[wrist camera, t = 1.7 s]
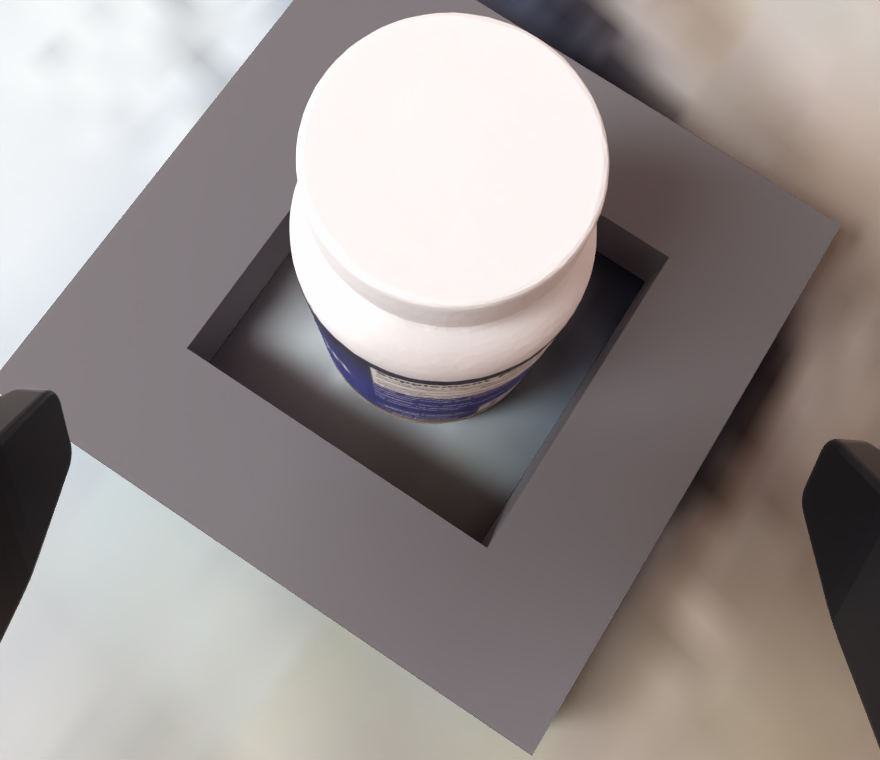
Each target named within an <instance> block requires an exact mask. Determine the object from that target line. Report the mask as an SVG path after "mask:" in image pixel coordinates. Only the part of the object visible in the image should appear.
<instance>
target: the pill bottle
mask: <svg viewBox="0 0 880 760" xmlns="http://www.w3.org/2000/svg"><path fill="white" fill-rule="evenodd" d="M609 164H610V162H609V150H608V143H607V137H606V132H605V128H604V125H603V121H602V117H601V115H600V113H599V110H598V108H597V105H596V103H595V101H594V99H593V97H592V95H591V94H590V92H589V90H588V88H587V87H586V85H585V84H584V82H583V81H582V79H581V78H580V77H579V76H578V74H577V73H576V72H575V71H574V69H573V68H572V67H571V66H570V65H569V63H568V62H567V61H566V60H565V59H564V58H563V57H562V56H561V55H560V54H559V53H557V52H556V51H555V50H554V49H552V48H551V47H550V46H548V45H547V44H546V43H544V42H543V41H541V40H540V39H538V38H537V37H535V36H533V35H532V34H530V33H528V32H526V31H524V30H522V29H520V28H518V27H516V26H514V25H511V24H508V23H505V22H502V21H499V20H496V19H493V18H490V17H485V16H478V15H472V14H465V13H454V12H451V13H434V14H426V15H420V16H415V17H410V18H406V19H403V20H399V21H396V22H394V23H391V24H389V25H386V26H384V27H381V28H379V29H378V30H376V31H374V32H372V33H371V34H369V35H367V36H365V37H364V38H362V39H361V40H359V41H358V42H356V43H355V44H354V45H352V46H351V47H350V48H348V49H347V50H346V51H345V52H344V53H343V54H342V55H341V56H340V57H339V58H338V59H337V60H336V61H335V62H334V63H333V64H332V65H331V66H330V67H329V69H328V70H327V71H326V73H325V74H324V75H323V77H322V78H321V80H320V81H319V83H318V84H317V85H316V87H315V89H314V91H313V93H312V95H311V97H310V99H309V101H308V103H307V106H306V108H305V111H304V114H303V117H302V121H301V124H300V128H299V132H298V138H297V146H296V173H297V180H298V181H297V184H296V187H295V190H294V194H293V199H292V204H291V211H290V245H291V252H292V258H293V263H294V267H295V271H296V274H297V278H298V281H299V284H300V287H301V290H302V292H303V294H304V297H305V299H306V301H307V303H308V305H309V308H310V310H311V312H312V314H313V316H314V319H315V321H316V323H317V326H318V329H319V331H320V333H321V335H322V337H323V339H324V342H325V344H326V346H327V349H328V351H329V353H330V355H331V357H332V360H333V362H334V364H335V366H336V368H337V369H338V371H339V373H340V374H341V376H342V377H343V379H344V380H345V381H346V383H347V384H348V385H349V386H350V387H351V389H352V390H353V391H354V392H355V393H357V394H358V395H359V396H360V397H361V398H362V399H363V400H365V401H366V402H368V403H369V404H370V405H372V406H374V407H375V408H377V409H379V410H380V411H382V412H384V413H386V414H389V415H391V416H394V417H397V418H400V419H403V420H407V421H411V422H417V423H428V424H437V423H447V422H453V421H458V420H462V419H465V418H469V417H471V416H474V415H476V414H479V413H481V412H483V411H485V410H487V409H488V408H490V407H492V406H493V405H495V404H496V403H498V402H499V401H500V400H502V399H503V398H504V397H505V396H507V395H508V394H509V393H510V392H511V391H512V390H513V389H514V388H515V387H516V386H517V384H518V383H519V382H520V381H521V380H522V378H523V377H524V376H525V375H526V374H527V372H528V371H529V370H530V369H531V368H532V366H533V365H534V364H535V363H536V361H537V360H538V359H539V358H540V356H541V355H542V354H543V353H544V352H545V350H546V349H547V347H548V346H549V345H550V344H551V343H552V342H553V340H554V339H555V338H556V337H557V335H558V334H559V333H560V332H561V331H562V329H563V328H564V326H565V325H566V324H567V322H568V321H569V319H570V318H571V316H572V315H573V314H574V312H575V310H576V308H577V306H578V304H579V303H580V301H581V299H582V297H583V294H584V292H585V290H586V287H587V285H588V282H589V279H590V276H591V272H592V268H593V264H594V259H595V252H596V240H597V224H596V223H597V221H598V218H599V216H600V214H601V211H602V208H603V204H604V201H605V196H606V192H607V187H608V178H609Z"/></svg>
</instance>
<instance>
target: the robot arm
mask: <svg viewBox="0 0 880 760" xmlns="http://www.w3.org/2000/svg"><path fill="white" fill-rule="evenodd" d="M71 454H72V451H71V443H70V438H69V434H68V430H67V426H66V422H65V418H64V414H63V410H62V406H61V402H60V399H59V397H58V396H57V394H56V393H55V392H53V391H52V390H48V389H33V388H17V389H14V390H11V391H9V392H8V393H6V394H4V395H2V396H0V642H1V640H2V638H3V636H4V634H5V632H6V630H7V628H8V626H9V624H10V622H11V619H12V617H13V615H14V613H15V611H16V609H17V607H18V605H19V603H20V601H21V599H22V597H23V594H24V592H25V590H26V588H27V585H28V583H29V581H30V579H31V576H32V573H33V571H34V568H35V566H36V563H37V560H38V557H39V554H40V551H41V549H42V546H43V543H44V540H45V537H46V534H47V531H48V528H49V525H50V522H51V519H52V516H53V513H54V511H55V508H56V505H57V502H58V499H59V496H60V493H61V490H62V487H63V484H64V481H65V478H66V475H67V473H68V470H69V466H70V462H71ZM802 507H803V513H804V517H805V520H806V524H807V528H808V532H809V536H810V540H811V544H812V548H813V552H814V556H815V560H816V563H817V567H818V571H819V575H820V579H821V583H822V587H823V591H824V595H825V599H826V603H827V606H828V609H829V613H830V616H831V620H832V623H833V626H834V629H835V631H836V634H837V637H838V640H839V643H840V645H841V648H842V651H843V653H844V656H845V659H846V661H847V664H848V666H849V669H850V672H851V674H852V677H853V680H854V682H855V685H856V687H857V690H858V693H859V695H860V698H861V701H862V703H863V706H864V709H865V711H866V714H867V716H868V719H869V722H870V724H871V727H872V730H873V732H874V735H875V737H876V740H877V743H878V745H879V748H880V450H879V449H878V448H876V447H875V446H873V445H871V444H870V443H868V442H865V441H860V440H844V439H833V440H831V441H829V442H827V443H826V444H825V445H824V447H823V449H822V450H821V453H820V455H819V457H818V459H817V462H816V464H815V466H814V468H813V470H812V473H811V475H810V477H809V479H808V481H807V484H806V486H805V488H804V491H803V496H802Z"/></svg>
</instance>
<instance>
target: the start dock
mask: <svg viewBox="0 0 880 760" xmlns="http://www.w3.org/2000/svg"><path fill="white" fill-rule="evenodd" d="M451 12H454V13H465V14H472V15H478V16H485V17H490V18H493V19H496V20H499V21H502V22H505V23H508V24H511V25H514V26H516V27H518V28H520V27H519V26H517V25H515V24H514V23H512V22H511V21H509V20H507V19H506V18H504V17H502V16H501V15H499V14H498V13H496V12H494V11H493V10H491V9H489V8H488V7H486V6H485V5H483V4H481V3H480V2H478V1H476V0H293V2H292V3H291V4H290V6H289V7H288V8H287V9H286V11H285V12H284V13H283V14H282V16H281V17H280V18H279V19H278V21H277V22H276V23H275V24H274V26H273V27H272V28H271V29H270V31H269V32H268V33H267V35H266V36H265V37H264V38H263V40H262V41H261V42H260V43H259V45H258V46H257V47H256V48H255V50H254V51H253V52H252V53H251V55H250V56H249V57H248V59H247V60H246V61H245V62H244V64H243V65H242V66H241V67H240V69H239V70H238V71H237V72H236V74H235V75H234V76H233V77H232V79H231V80H230V81H229V83H228V84H227V85H226V86H225V88H224V89H223V90H222V91H221V93H220V94H219V95H218V96H217V98H216V99H215V100H214V101H213V103H212V104H211V105H210V107H209V108H208V109H207V110H206V112H205V113H204V114H203V115H202V117H201V118H200V119H199V120H198V122H197V123H196V124H195V125H194V127H193V128H192V129H191V131H190V132H189V133H188V134H187V136H186V137H185V138H184V139H183V141H182V142H181V143H180V144H179V146H178V147H177V148H176V149H175V151H174V152H173V153H172V155H171V156H170V157H169V158H168V160H167V161H166V162H165V163H164V165H163V166H162V167H161V168H160V170H159V171H158V172H157V173H156V175H155V176H154V177H153V178H152V180H151V181H150V182H149V184H148V185H147V186H146V187H145V189H144V190H143V191H142V192H141V194H140V195H139V196H138V197H137V199H136V200H135V201H134V202H133V204H132V205H131V206H130V208H129V209H128V210H127V211H126V213H125V214H124V215H123V216H122V218H121V219H120V220H119V221H118V223H117V224H116V225H115V226H114V228H113V229H112V230H111V232H110V233H109V234H108V235H107V237H106V238H105V239H104V240H103V242H102V243H101V244H100V245H99V247H98V248H97V249H96V250H95V252H94V253H93V254H92V256H91V257H90V258H89V259H88V261H87V262H86V263H85V264H84V266H83V267H82V268H81V269H80V271H79V272H78V273H77V274H76V276H75V277H74V278H73V280H72V281H71V282H70V283H69V285H68V286H67V287H66V288H65V290H64V291H63V292H62V293H61V295H60V296H59V297H58V298H57V300H56V301H55V302H54V303H53V305H52V306H51V307H50V309H49V310H48V311H47V312H46V314H45V315H44V316H43V317H42V319H41V320H40V321H39V322H38V324H37V325H36V326H35V327H34V329H33V330H32V331H31V333H30V334H29V335H28V336H27V338H26V339H25V340H24V341H23V343H22V344H21V345H20V346H19V348H18V349H17V350H16V351H15V353H14V354H13V355H12V357H11V358H10V359H9V360H8V362H7V363H6V364H5V365H4V367H3V368H2V369H1V370H0V394H1V395H4V394H6V393H8V392H9V391H11V390H14V389H17V388H33V389H48V390H52V391H53V392H55V393H56V394H57V396H58V397H59V399H60V402H61V406H62V410H63V414H64V418H65V422H66V426H67V430H68V434H69V438H70V442H72V443H73V444H75V445H76V446H78V447H79V448H81V449H82V450H84V451H85V452H87V453H88V454H90V455H91V456H92V457H94V458H95V459H97V460H98V461H100V462H101V463H103V464H104V465H106V466H107V467H109V468H110V469H112V470H113V471H115V472H116V473H117V474H119V475H120V476H122V477H123V478H125V479H126V480H128V481H129V482H131V483H132V484H134V485H135V486H137V487H138V488H139V489H141V490H142V491H144V492H145V493H147V494H148V495H150V496H151V497H153V498H154V499H156V500H157V501H159V502H160V503H161V504H163V505H164V506H166V507H167V508H169V509H170V510H172V511H173V512H175V513H176V514H178V515H179V516H181V517H182V518H184V519H185V520H186V521H188V522H189V523H191V524H192V525H194V526H195V527H197V528H198V529H200V530H201V531H203V532H204V533H206V534H207V535H208V536H210V537H211V538H213V539H214V540H216V541H217V542H219V543H220V544H222V545H223V546H225V547H226V548H228V549H229V550H231V551H232V552H233V553H235V554H236V555H238V556H239V557H241V558H242V559H244V560H245V561H247V562H248V563H250V564H251V565H253V566H254V567H255V568H257V569H258V570H260V571H261V572H263V573H264V574H266V575H267V576H269V577H270V578H272V579H273V580H275V581H276V582H278V583H279V584H280V585H282V586H283V587H285V588H286V589H288V590H289V591H291V592H292V593H294V594H295V595H297V596H298V597H300V598H301V599H302V600H304V601H305V602H307V603H308V604H310V605H311V606H313V607H314V608H316V609H317V610H319V611H320V612H322V613H323V614H324V615H326V616H327V617H329V618H330V619H332V620H333V621H335V622H336V623H338V624H339V625H341V626H342V627H344V628H345V629H347V630H348V631H349V632H351V633H352V634H354V635H355V636H357V637H358V638H360V639H361V640H363V641H364V642H366V643H367V644H369V645H370V646H371V647H373V648H374V649H376V650H377V651H379V652H380V653H382V654H383V655H385V656H386V657H388V658H389V659H391V660H392V661H394V662H395V663H396V664H398V665H399V666H401V667H402V668H404V669H405V670H407V671H408V672H410V673H411V674H413V675H414V676H416V677H417V678H418V679H420V680H421V681H423V682H424V683H426V684H427V685H429V686H430V687H432V688H433V689H435V690H436V691H438V692H439V693H441V694H442V695H443V696H445V697H446V698H448V699H449V700H451V701H452V702H454V703H455V704H457V705H458V706H460V707H461V708H463V709H464V710H465V711H467V712H468V713H470V714H471V715H473V716H474V717H476V718H477V719H479V720H480V721H482V722H483V723H485V724H486V725H487V726H489V727H490V728H492V729H493V730H495V731H496V732H498V733H499V734H501V735H502V736H504V737H505V738H507V739H508V740H510V741H511V742H512V743H514V744H515V745H517V746H518V747H520V748H521V749H523V750H524V751H526V752H527V753H529V754H530V755H533V753H534V751H535V750H536V748H537V746H538V744H539V743H540V741H541V739H542V737H543V736H544V734H545V732H546V731H547V729H548V727H549V725H550V724H551V722H552V720H553V719H554V717H555V715H556V713H557V712H558V710H559V708H560V707H561V705H562V703H563V701H564V700H565V698H566V696H567V695H568V693H569V691H570V689H571V688H572V686H573V684H574V683H575V681H576V679H577V677H578V676H579V674H580V672H581V671H582V669H583V667H584V665H585V664H586V662H587V660H588V659H589V657H590V655H591V653H592V652H593V650H594V648H595V646H596V645H597V643H598V641H599V640H600V638H601V636H602V634H603V633H604V631H605V629H606V628H607V626H608V624H609V622H610V621H611V619H612V617H613V616H614V614H615V612H616V610H617V609H618V607H619V605H620V604H621V602H622V600H623V598H624V597H625V595H626V593H627V592H628V590H629V588H630V586H631V585H632V583H633V581H634V580H635V578H636V576H637V574H638V573H639V571H640V569H641V568H642V566H643V564H644V562H645V561H646V559H647V557H648V556H649V554H650V552H651V550H652V549H653V547H654V545H655V543H656V542H657V540H658V538H659V537H660V535H661V533H662V531H663V530H664V528H665V526H666V525H667V523H668V521H669V519H670V518H671V516H672V514H673V513H674V511H675V509H676V507H677V506H678V504H679V502H680V501H681V499H682V497H683V495H684V494H685V492H686V490H687V489H688V487H689V485H690V483H691V482H692V480H693V478H694V477H695V475H696V473H697V471H698V470H699V468H700V466H701V465H702V463H703V461H704V459H705V458H706V456H707V454H708V452H709V451H710V449H711V447H712V446H713V444H714V442H715V440H716V439H717V437H718V435H719V434H720V432H721V430H722V428H723V427H724V425H725V423H726V422H727V420H728V418H729V416H730V415H731V413H732V411H733V410H734V408H735V406H736V404H737V403H738V401H739V399H740V398H741V396H742V394H743V392H744V391H745V389H746V387H747V386H748V384H749V382H750V380H751V379H752V377H753V375H754V374H755V372H756V370H757V368H758V367H759V365H760V363H761V361H762V360H763V358H764V356H765V355H766V353H767V351H768V349H769V348H770V346H771V344H772V343H773V341H774V339H775V337H776V336H777V334H778V332H779V331H780V329H781V327H782V325H783V324H784V322H785V320H786V319H787V317H788V315H789V313H790V312H791V310H792V308H793V307H794V305H795V303H796V301H797V300H798V298H799V296H800V295H801V293H802V291H803V289H804V288H805V286H806V284H807V283H808V281H809V279H810V277H811V276H812V274H813V272H814V270H815V269H816V267H817V265H818V264H819V262H820V260H821V258H822V257H823V255H824V253H825V252H826V250H827V248H828V246H829V245H830V243H831V241H832V240H833V238H834V236H835V234H836V233H837V231H838V229H839V228H840V226H841V225H840V224H839V223H837V222H835V221H834V220H832V219H830V218H829V217H827V216H826V215H824V214H822V213H821V212H819V211H818V210H816V209H814V208H813V207H811V206H809V205H808V204H806V203H805V202H803V201H801V200H800V199H798V198H796V197H795V196H793V195H792V194H790V193H788V192H787V191H785V190H783V189H782V188H780V187H779V186H777V185H775V184H774V183H772V182H770V181H769V180H767V179H766V178H764V177H762V176H761V175H759V174H757V173H756V172H754V171H753V170H751V169H749V168H748V167H746V166H744V165H743V164H741V163H740V162H738V161H736V160H735V159H733V158H731V157H730V156H728V155H727V154H725V153H723V152H722V151H720V150H718V149H717V148H715V147H714V146H712V145H710V144H709V143H707V142H705V141H704V140H702V139H701V138H699V137H697V136H696V135H694V134H692V133H691V132H689V131H688V130H686V129H684V128H683V127H681V126H679V125H678V124H676V123H675V122H673V121H671V120H670V119H668V118H666V117H665V116H663V115H662V114H660V113H658V112H657V111H655V110H653V109H652V108H650V107H649V106H647V105H645V104H644V103H642V102H640V101H639V100H637V99H636V98H634V97H632V96H631V95H629V94H627V93H626V92H624V91H623V90H621V89H619V88H618V87H616V86H614V85H613V84H611V83H610V82H608V81H606V80H605V79H603V78H601V77H600V76H598V75H597V74H595V73H593V72H592V71H590V70H588V69H587V68H585V67H584V66H582V65H580V64H579V63H577V62H575V61H574V60H572V59H571V58H569V57H567V56H566V55H564V54H562V53H561V52H559V51H558V50H556V49H554V48H553V47H551V46H550V45H548V44H547V45H548V46H550V47H551V48H552V49H554V50H555V51H556V52H557V53H559V54H560V55H561V56H562V57H563V58H564V59H565V60H566V61H567V62H568V63H569V65H570V66H571V67H572V68H573V69H574V71H575V72H576V73H577V74H578V76H579V77H580V78H581V79H582V81H583V82H584V84H585V85H586V87H587V88H588V90H589V92H590V94H591V95H592V97H593V99H594V101H595V103H596V105H597V108H598V110H599V113H600V115H601V117H602V121H603V125H604V128H605V132H606V137H607V143H608V150H609V162H610V164H609V178H608V187H607V192H606V196H605V201H604V204H603V208H602V211H601V214H600V216H599V218H598V221H597V223H596V224H597V240H596V251H597V252H599V253H601V254H602V255H604V256H605V257H607V258H608V259H610V260H612V261H613V262H615V263H616V264H618V265H620V266H621V267H623V268H624V269H626V270H627V271H629V272H631V273H632V274H634V275H635V276H637V277H639V278H640V279H642V280H643V281H645V283H644V284H643V286H642V288H641V289H640V291H639V292H638V294H637V295H636V297H635V299H634V300H633V302H632V303H631V305H630V307H629V308H628V310H627V311H626V313H625V315H624V316H623V318H622V319H621V321H620V323H619V324H618V326H617V327H616V329H615V330H614V332H613V334H612V335H611V337H610V338H609V340H608V342H607V343H606V345H605V346H604V348H603V350H602V351H601V353H600V354H599V356H598V358H597V359H596V361H595V362H594V364H593V365H592V367H591V369H590V370H589V372H588V373H587V375H586V377H585V378H584V380H583V381H582V383H581V385H580V386H579V388H578V389H577V391H576V393H575V394H574V396H573V397H572V399H571V400H570V402H569V404H568V405H567V407H566V408H565V410H564V412H563V413H562V415H561V416H560V418H559V420H558V421H557V423H556V424H555V426H554V428H553V429H552V431H551V432H550V434H549V435H548V437H547V439H546V440H545V442H544V443H543V445H542V447H541V448H540V450H539V451H538V453H537V455H536V456H535V458H534V459H533V461H532V463H531V464H530V466H529V467H528V469H527V470H526V472H525V474H524V475H523V477H522V478H521V480H520V482H519V483H518V485H517V486H516V488H515V490H514V491H513V493H512V494H511V496H510V497H509V499H508V501H507V502H506V504H505V505H504V507H503V509H502V510H501V512H500V513H499V515H498V517H497V518H496V520H495V521H494V523H493V525H492V526H491V528H490V529H489V531H488V532H487V534H486V536H485V537H484V539H483V540H482V542H481V543H479V542H477V541H476V540H474V539H473V538H471V537H470V536H468V535H467V534H465V533H464V532H462V531H461V530H459V529H458V528H456V527H455V526H453V525H452V524H450V523H449V522H447V521H446V520H444V519H443V518H441V517H440V516H438V515H437V514H435V513H434V512H432V511H431V510H429V509H428V508H426V507H425V506H423V505H422V504H420V503H419V502H417V501H416V500H414V499H413V498H411V497H410V496H408V495H407V494H405V493H404V492H402V491H401V490H399V489H398V488H396V487H395V486H393V485H392V484H390V483H389V482H387V481H386V480H384V479H383V478H381V477H380V476H378V475H377V474H375V473H374V472H372V471H371V470H369V469H368V468H366V467H365V466H363V465H362V464H360V463H359V462H357V461H356V460H354V459H353V458H351V457H350V456H348V455H347V454H345V453H344V452H342V451H341V450H339V449H338V448H336V447H335V446H333V445H332V444H330V443H329V442H327V441H326V440H324V439H323V438H321V437H320V436H318V435H317V434H315V433H314V432H312V431H311V430H309V429H308V428H306V427H305V426H303V425H302V424H300V423H299V422H297V421H296V420H294V419H292V418H291V417H289V416H288V415H286V414H285V413H283V412H282V411H280V410H279V409H277V408H276V407H274V406H273V405H271V404H270V403H268V402H267V401H265V400H264V399H262V398H261V397H259V396H258V395H256V394H255V393H253V392H252V391H250V390H249V389H247V388H246V387H244V386H243V385H241V384H240V383H238V382H237V381H235V380H234V379H232V378H231V377H229V376H228V375H226V374H225V373H223V372H222V371H220V370H219V369H217V368H216V367H214V366H213V365H211V364H210V363H209V362H210V360H211V359H212V358H213V356H214V355H215V354H216V352H217V351H218V350H219V348H220V347H221V346H222V344H223V343H224V341H225V340H226V339H227V337H228V336H229V335H230V333H231V332H232V331H233V329H234V328H235V326H236V325H237V324H238V322H239V321H240V320H241V318H242V317H243V316H244V314H245V313H246V312H247V310H248V309H249V307H250V306H251V305H252V303H253V302H254V301H255V299H256V298H257V297H258V295H259V294H260V293H261V291H262V290H263V288H264V287H265V286H266V284H267V283H268V282H269V280H270V279H271V278H272V276H273V275H274V273H275V272H276V271H277V269H278V268H279V267H280V265H281V264H282V263H283V261H284V260H285V259H286V257H287V256H288V254H289V253H290V252H291V245H290V211H291V204H292V199H293V194H294V190H295V187H296V184H297V181H298V180H297V173H296V146H297V138H298V132H299V128H300V124H301V121H302V117H303V114H304V111H305V108H306V106H307V103H308V101H309V99H310V97H311V95H312V93H313V91H314V89H315V87H316V85H317V84H318V83H319V81H320V80H321V78H322V77H323V75H324V74H325V73H326V71H327V70H328V69H329V67H330V66H331V65H332V64H333V63H334V62H335V61H336V60H337V59H338V58H339V57H340V56H341V55H342V54H343V53H344V52H345V51H346V50H347V49H348V48H350V47H351V46H352V45H354V44H355V43H356V42H358V41H359V40H361V39H362V38H364V37H365V36H367V35H369V34H371V33H372V32H374V31H376V30H378V29H379V28H381V27H384V26H386V25H389V24H391V23H394V22H396V21H399V20H403V19H406V18H410V17H415V16H420V15H426V14H434V13H451ZM520 29H522V28H520ZM522 30H524V29H522ZM524 31H525V30H524ZM526 32H527V31H526ZM544 43H545V42H544Z"/></svg>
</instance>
